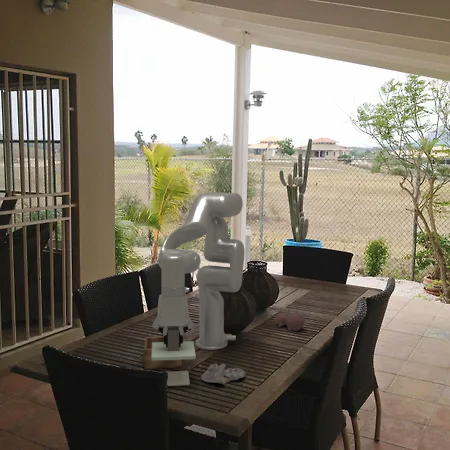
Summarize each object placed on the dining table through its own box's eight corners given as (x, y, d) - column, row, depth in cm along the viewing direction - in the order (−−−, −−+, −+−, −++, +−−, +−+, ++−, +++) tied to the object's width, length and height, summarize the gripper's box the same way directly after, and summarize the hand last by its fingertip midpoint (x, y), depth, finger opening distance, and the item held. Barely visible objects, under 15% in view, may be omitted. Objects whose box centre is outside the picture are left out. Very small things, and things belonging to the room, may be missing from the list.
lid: (193, 344, 183) (193, 321, 182) (195, 359, 169) (195, 334, 168) (152, 345, 181) (152, 322, 180) (151, 360, 168) (151, 336, 167)
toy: (276, 332, 234) (302, 336, 223) (268, 319, 231) (294, 322, 220) (286, 319, 239) (312, 322, 227) (278, 306, 236) (304, 309, 224)
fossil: (243, 370, 188) (201, 374, 187) (242, 360, 188) (200, 364, 187) (248, 385, 170) (201, 390, 170) (247, 374, 170) (200, 379, 170)
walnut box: (180, 353, 199) (180, 335, 198) (181, 367, 187) (181, 348, 186) (145, 355, 198) (145, 337, 197) (144, 369, 185) (144, 349, 184)
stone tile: (188, 372, 182) (188, 370, 182) (189, 384, 173) (189, 383, 172) (158, 373, 181) (158, 372, 181) (158, 386, 171) (158, 384, 171)
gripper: (197, 288, 177) (197, 341, 180) (147, 289, 176) (148, 342, 178) (199, 294, 170) (199, 349, 172) (147, 295, 168) (147, 350, 170)
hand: (173, 345), depth 175 cm, fingers closed on lid, 3 cm apart
